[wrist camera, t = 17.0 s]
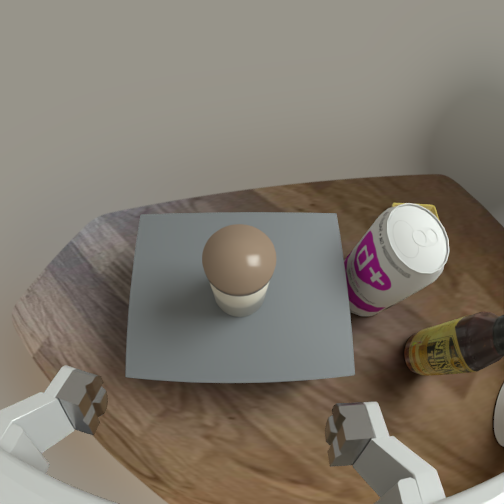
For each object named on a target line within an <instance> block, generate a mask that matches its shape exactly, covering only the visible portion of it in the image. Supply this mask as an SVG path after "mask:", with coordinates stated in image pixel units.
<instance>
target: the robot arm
mask: <svg viewBox="0 0 504 504" xmlns="http://www.w3.org/2000/svg"><path fill="white" fill-rule="evenodd" d="M102 384H103V381H102V378H101V376H98V375H95V374H92V373H88V372H85V371H82V370H79V369H76V368H73V367H70V366H67V365H65V366H63V367H62V368H61V369H60V371H59V372H58V373H57V375H56V376H55V378H54V379H53V380H52V382H51V383H50V385H49V386H48V388H47V389H46V390H45V392H44V393H42V392H40V393H38V394H35V395H33V396H31V397H29V398H27V399H25V400H22V401H20V402H18V403H16V404H13V405H11V406H9V407H7V408H5V409H2V410H0V504H119V503H116V502H113V501H110V500H107V499H104V498H101V497H99V496H96V495H93V494H91V493H88V492H85V491H83V490H80V489H78V488H76V487H73V486H71V485H69V484H67V483H64V482H62V481H60V480H58V479H56V478H54V477H52V476H50V475H48V474H46V471H47V470H48V467H49V462H48V461H47V459H46V458H45V457H44V456H43V455H42V453H43V452H44V451H46V450H47V449H48V448H50V447H51V446H53V445H54V444H56V443H57V442H59V441H60V440H62V439H63V438H64V437H66V436H67V435H69V434H70V433H72V432H73V431H74V429H75V430H79V431H81V432H84V433H87V434H91V435H94V434H95V432H96V430H97V428H98V425H99V423H100V421H99V418H98V417H99V416H101V415H103V414H104V413H105V411H106V409H107V404H108V395H107V392H106V390H105V389H104V388H103V387H102ZM332 414H333V415H332V416H330V417H329V418H328V420H327V423H326V428H325V437H326V442H327V443H328V444H329V445H330V448H329V450H328V457H329V464H330V466H346V465H353V467H354V468H355V470H356V471H357V472H358V473H359V474H360V475H361V476H362V478H363V479H364V480H365V481H366V482H367V483H368V484H369V485H370V487H371V488H372V489H373V490H374V491H375V492H376V493H377V494H378V495H379V496H380V499H379V500H378V501H376V502H375V503H374V504H504V472H503V473H501V474H499V475H497V476H495V477H493V478H491V479H489V480H487V481H485V482H483V483H481V484H479V485H476V486H474V487H472V488H469V489H467V490H465V491H462V492H460V493H457V494H455V495H452V496H450V497H447V498H446V497H445V494H444V491H443V488H442V485H441V482H440V479H439V476H438V474H437V471H436V469H434V468H433V467H432V466H430V465H429V464H428V463H427V462H425V461H424V460H423V459H421V458H420V457H419V456H418V455H416V454H415V453H414V452H412V451H411V450H410V449H409V448H407V447H406V446H405V445H404V444H402V443H401V442H400V441H399V440H397V439H396V438H395V437H394V436H389V433H388V430H387V427H386V424H385V422H384V419H383V416H382V413H381V410H380V407H379V404H378V403H377V402H363V403H362V402H358V403H339V404H335V405H334V406H333V408H332ZM494 432H495V436H496V439H497V441H498V443H499V444H500V445H501V446H503V447H504V384H503V386H502V388H501V390H500V393H499V396H498V399H497V403H496V407H495V414H494Z"/></svg>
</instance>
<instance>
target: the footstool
mask: <svg viewBox="0 0 504 504" xmlns="http://www.w3.org/2000/svg"><path fill="white" fill-rule="evenodd" d="M235 224H244V225H249V226H253V227H255V228H257V229H259V230H261V231H262V232H263V233H265V234H266V235H267V236H268V237H269V239H270V240H271V242H272V243H273V245H274V248H275V251H276V266H275V269H274V273H273V275H272V278H271V279H270V281H269V285H268V288H267V292H266V295H265V298H264V301H263V304H262V305H261V307H260V308H259V309H258V310H257V311H256V312H254V313H253V314H251V315H248V316H245V317H235V316H231V315H229V314H227V313H225V312H224V311H222V310H221V309H220V307H219V306H218V305H217V303H216V300H215V297H214V294H213V291H212V288H211V285H210V282H209V280H208V279H207V277H206V274H205V271H204V268H203V264H202V253H203V249H204V246H205V244H206V242H207V241H208V239H209V238H210V237H211V236H212V235H213V234H214V233H215V232H216V231H218V230H220V229H221V228H224V227H226V226H229V225H235ZM351 375H355V368H354V353H353V339H352V328H351V317H350V307H349V298H348V289H347V281H346V273H345V266H344V259H343V252H342V245H341V239H340V232H339V226H338V220H337V214H336V213H277V212H235V213H174V214H143V215H141V216H140V222H139V228H138V235H137V241H136V248H135V256H134V263H133V272H132V281H131V290H130V301H129V313H128V327H127V345H126V377H129V378H139V379H149V380H162V381H177V382H200V383H262V382H285V381H300V380H313V379H324V378H334V377H343V376H351Z"/></svg>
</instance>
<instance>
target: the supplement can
mask: <svg viewBox="0 0 504 504" xmlns="http://www.w3.org/2000/svg"><path fill="white" fill-rule="evenodd" d="M448 255H449V240H448V237H447V234H446V231H445V229H444V227H443V226H442V224H441V223H440V221H439V220H438V218H437V217H436V216H435V215H434V214H433V213H431V212H430V211H429V210H428V209H426V208H424V207H422V206H420V205H418V204H411V203H406V204H402V205H398V206H396V207H392V208H388V209H387V210H386V211H384V212H383V213H382V214H381V215H380V216H379V217H378V218H377V220H376V221H375V222H374V224H373V225H372V226H371V227H370V229H369V230H368V231H367V233H366V234H365V235H364V236H363V238H362V239H361V240H360V241H359V243H358V244H357V245H356V246H355V248H354V249H353V250H352V251H351V253H350V254H349V255H348V256H347V258H346V259H345V260H344V266H345V273H346V281H347V289H348V298H349V307H350V312H351V313H354V314H356V315H359V316H373V315H375V314H377V313H380V312H382V311H384V310H385V309H387V308H389V307H391V306H393V305H395V304H396V303H398V302H400V301H402V300H404V299H405V298H407V297H409V296H411V295H412V294H414V293H416V292H417V291H419V290H421V289H423V288H424V287H426V286H428V285H429V284H431V283H432V282H434V281H435V280H436V279H437V278H438V277H439V275H440V274H441V273H442V271H443V268H444V264H445V263H446V262H447V258H448Z"/></svg>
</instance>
